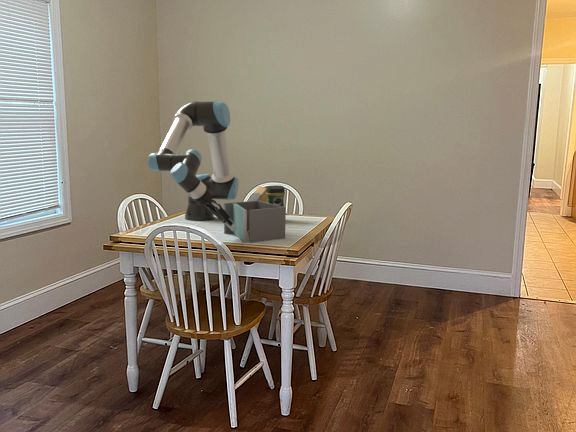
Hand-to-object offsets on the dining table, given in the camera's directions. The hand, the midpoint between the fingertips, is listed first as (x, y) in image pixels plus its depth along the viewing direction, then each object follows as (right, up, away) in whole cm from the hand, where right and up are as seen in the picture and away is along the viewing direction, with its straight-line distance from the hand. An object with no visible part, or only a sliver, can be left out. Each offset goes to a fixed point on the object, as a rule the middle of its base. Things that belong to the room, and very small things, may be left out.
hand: (235, 229), depth 244 cm
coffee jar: (+17, +3, +45) cm, 48 cm away
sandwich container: (+3, +6, +65) cm, 66 cm away
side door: (+2, -4, +1) cm, 4 cm away
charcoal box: (+8, -3, +5) cm, 10 cm away
